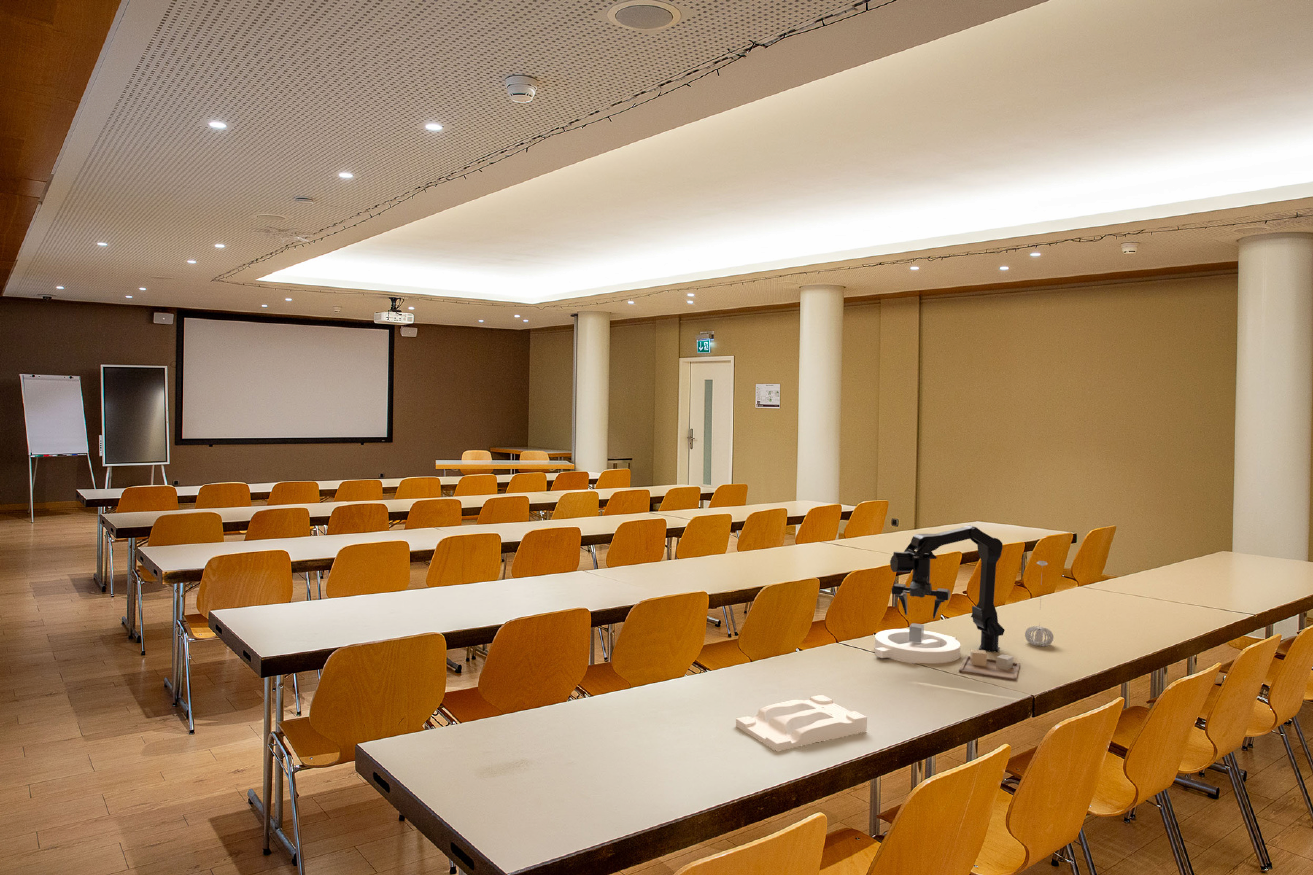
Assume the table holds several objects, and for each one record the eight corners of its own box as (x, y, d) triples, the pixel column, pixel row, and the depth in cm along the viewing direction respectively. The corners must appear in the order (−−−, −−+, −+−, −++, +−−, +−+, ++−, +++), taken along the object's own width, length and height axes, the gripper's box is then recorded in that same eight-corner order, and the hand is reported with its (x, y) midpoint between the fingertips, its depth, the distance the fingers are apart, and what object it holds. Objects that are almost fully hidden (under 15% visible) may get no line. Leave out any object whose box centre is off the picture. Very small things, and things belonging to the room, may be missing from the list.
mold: (867, 733, 216) (867, 715, 216) (777, 754, 202) (777, 734, 202) (821, 710, 232) (821, 694, 232) (734, 728, 218) (735, 710, 218)
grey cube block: (911, 637, 291) (912, 623, 291) (923, 639, 289) (924, 624, 289) (909, 640, 286) (909, 626, 286) (921, 642, 285) (921, 627, 284)
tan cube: (969, 661, 277) (970, 649, 277) (984, 662, 276) (984, 650, 276) (971, 664, 273) (972, 652, 273) (986, 665, 272) (986, 653, 272)
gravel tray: (966, 658, 281) (966, 655, 281) (1019, 666, 273) (1019, 663, 273) (958, 673, 265) (959, 670, 265) (1015, 682, 257) (1015, 678, 257)
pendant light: (1056, 649, 295) (1059, 564, 294) (1028, 647, 297) (1031, 563, 296) (1049, 641, 304) (1052, 559, 303) (1022, 639, 306) (1025, 558, 305)
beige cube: (1002, 664, 274) (1002, 654, 274) (1012, 667, 271) (1013, 656, 271) (995, 667, 271) (996, 656, 271) (1006, 670, 268) (1007, 659, 268)
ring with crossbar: (956, 646, 298) (956, 633, 298) (963, 669, 271) (964, 655, 271) (874, 638, 305) (875, 625, 305) (874, 661, 278) (874, 647, 278)
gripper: (888, 572, 284) (887, 618, 284) (946, 578, 275) (944, 625, 276) (895, 567, 294) (894, 611, 294) (951, 572, 285) (949, 618, 286)
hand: (919, 616), depth 287 cm, fingers open, 9 cm apart
